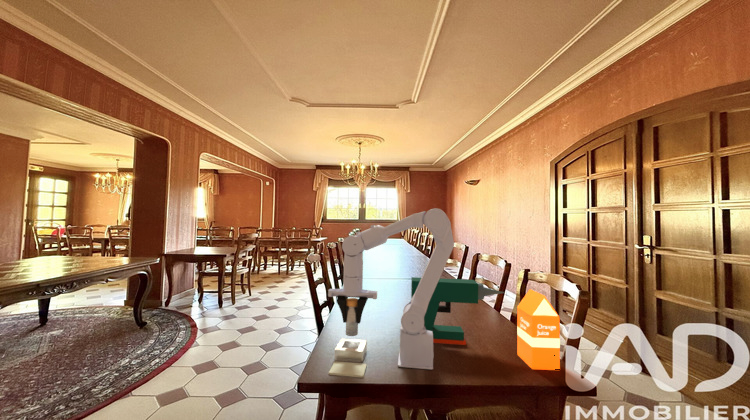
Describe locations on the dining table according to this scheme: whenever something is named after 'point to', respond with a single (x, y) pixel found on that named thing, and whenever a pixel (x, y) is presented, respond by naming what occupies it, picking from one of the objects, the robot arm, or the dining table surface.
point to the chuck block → (350, 350)
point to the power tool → (450, 293)
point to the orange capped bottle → (351, 317)
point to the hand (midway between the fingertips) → (352, 322)
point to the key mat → (348, 369)
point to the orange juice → (538, 332)
